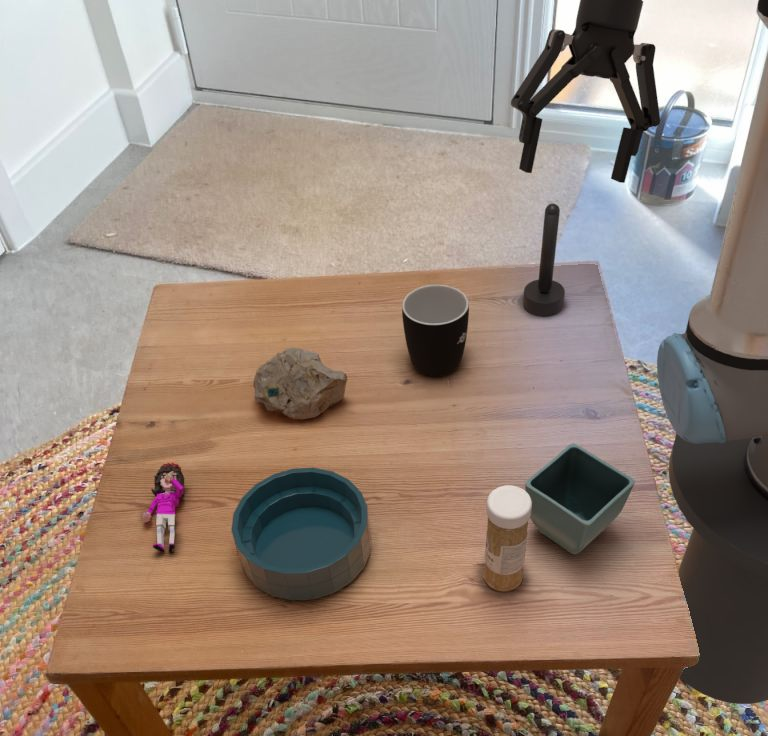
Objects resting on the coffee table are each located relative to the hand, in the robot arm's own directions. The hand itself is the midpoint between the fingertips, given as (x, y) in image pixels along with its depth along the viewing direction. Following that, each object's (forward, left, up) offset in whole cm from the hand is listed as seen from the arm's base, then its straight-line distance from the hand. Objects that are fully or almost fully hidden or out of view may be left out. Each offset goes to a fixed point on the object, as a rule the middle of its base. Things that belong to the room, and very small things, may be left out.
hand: (572, 176), depth 113 cm
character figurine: (-21, +64, -20) cm, 70 cm away
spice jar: (-45, +29, -20) cm, 57 cm away
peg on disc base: (-1, +3, -20) cm, 20 cm away
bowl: (-33, +49, -20) cm, 62 cm away
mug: (-6, +22, -20) cm, 30 cm away
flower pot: (-42, +19, -20) cm, 50 cm away
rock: (-9, +43, -20) cm, 48 cm away
